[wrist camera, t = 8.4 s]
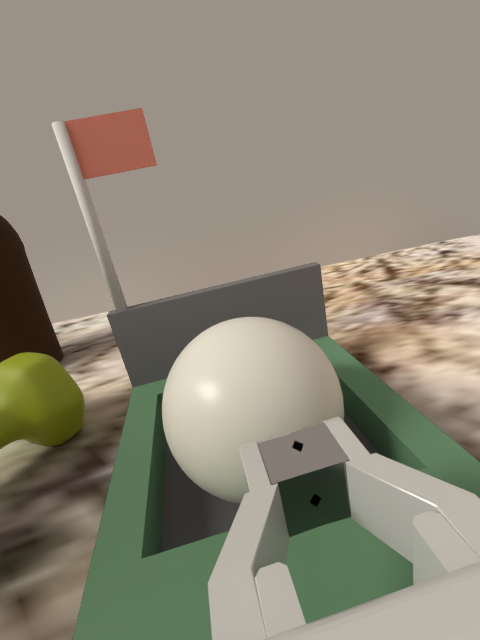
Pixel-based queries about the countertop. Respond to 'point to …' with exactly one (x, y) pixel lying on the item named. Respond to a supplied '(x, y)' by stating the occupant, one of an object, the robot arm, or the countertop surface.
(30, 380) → the dumbbell
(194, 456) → the ball
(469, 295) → the countertop surface
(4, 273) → the olive oil
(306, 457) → the robot arm
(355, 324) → the countertop surface
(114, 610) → the putting green
